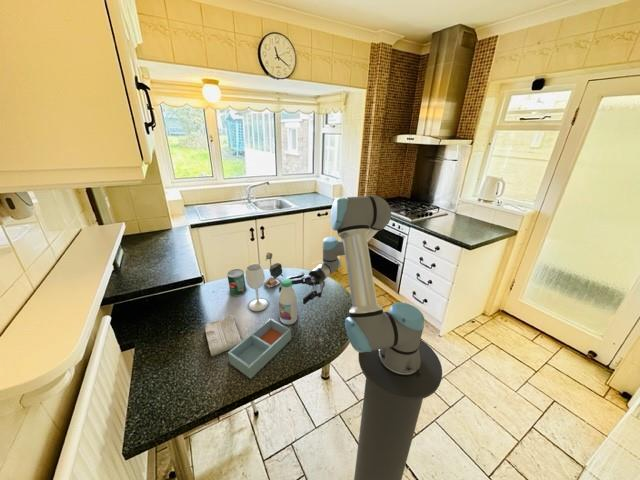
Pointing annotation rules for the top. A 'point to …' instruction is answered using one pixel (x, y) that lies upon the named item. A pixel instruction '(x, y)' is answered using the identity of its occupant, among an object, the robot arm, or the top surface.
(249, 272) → the wineglass
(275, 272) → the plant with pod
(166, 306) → the top surface
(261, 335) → the divided tray
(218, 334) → the washcloth
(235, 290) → the canned tomato
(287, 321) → the milk bottle
